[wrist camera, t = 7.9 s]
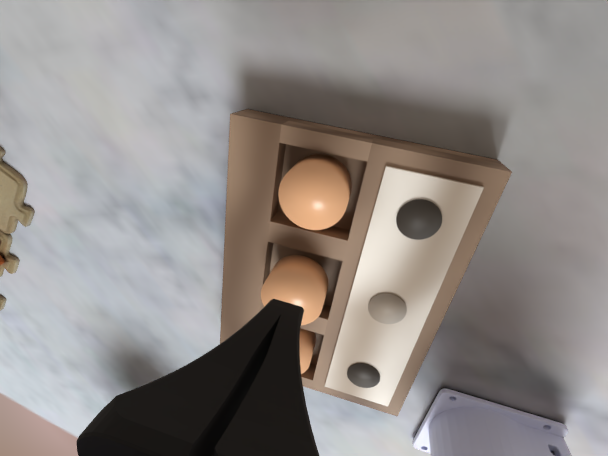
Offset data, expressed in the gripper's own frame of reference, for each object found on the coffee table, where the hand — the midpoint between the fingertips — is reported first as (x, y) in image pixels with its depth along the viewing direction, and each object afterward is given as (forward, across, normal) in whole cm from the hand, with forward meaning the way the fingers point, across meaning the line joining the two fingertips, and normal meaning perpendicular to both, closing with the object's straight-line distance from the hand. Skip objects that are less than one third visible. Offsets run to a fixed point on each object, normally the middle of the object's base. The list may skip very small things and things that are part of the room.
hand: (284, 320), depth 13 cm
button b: (+8, +1, +4) cm, 9 cm away
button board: (+10, -1, +4) cm, 11 cm away
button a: (+9, +1, -3) cm, 10 cm away
